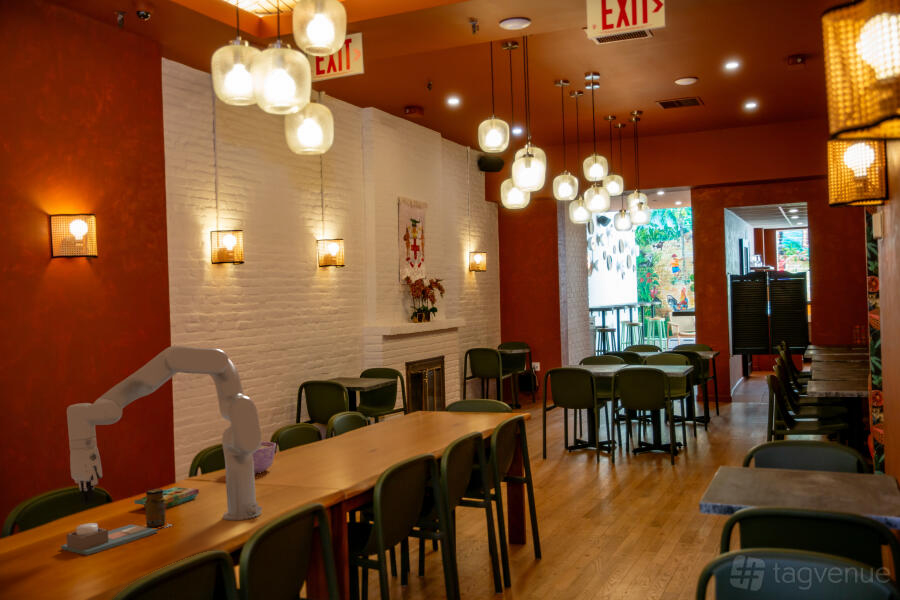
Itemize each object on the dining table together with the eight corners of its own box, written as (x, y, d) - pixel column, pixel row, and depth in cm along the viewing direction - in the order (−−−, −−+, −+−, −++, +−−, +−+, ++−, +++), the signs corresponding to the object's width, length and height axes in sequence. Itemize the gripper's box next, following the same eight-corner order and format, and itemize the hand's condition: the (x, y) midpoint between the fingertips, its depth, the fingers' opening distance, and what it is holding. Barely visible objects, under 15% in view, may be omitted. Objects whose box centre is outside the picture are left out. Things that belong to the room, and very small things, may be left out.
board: (157, 533, 248) (156, 517, 248) (87, 555, 228) (86, 539, 228) (131, 527, 256) (130, 513, 256) (61, 549, 236) (60, 533, 236)
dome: (102, 534, 237) (101, 524, 237) (83, 540, 232) (83, 529, 232) (91, 532, 240) (90, 522, 240) (72, 537, 235) (72, 527, 235)
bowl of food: (221, 477, 327) (220, 450, 327) (244, 467, 346) (243, 441, 346) (264, 478, 322) (262, 450, 322) (285, 467, 341) (284, 441, 341)
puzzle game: (198, 486, 292) (156, 500, 275) (199, 499, 292) (157, 513, 274) (176, 484, 298) (134, 497, 280) (177, 497, 298) (134, 510, 280)
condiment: (161, 521, 262) (159, 486, 262) (173, 525, 256) (171, 490, 256) (140, 527, 256) (138, 491, 256) (152, 531, 251) (150, 494, 251)
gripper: (108, 442, 235) (113, 501, 235) (80, 440, 243) (85, 497, 243) (85, 447, 229) (90, 508, 229) (57, 445, 237) (62, 503, 237)
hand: (87, 502), depth 236 cm, fingers closed
